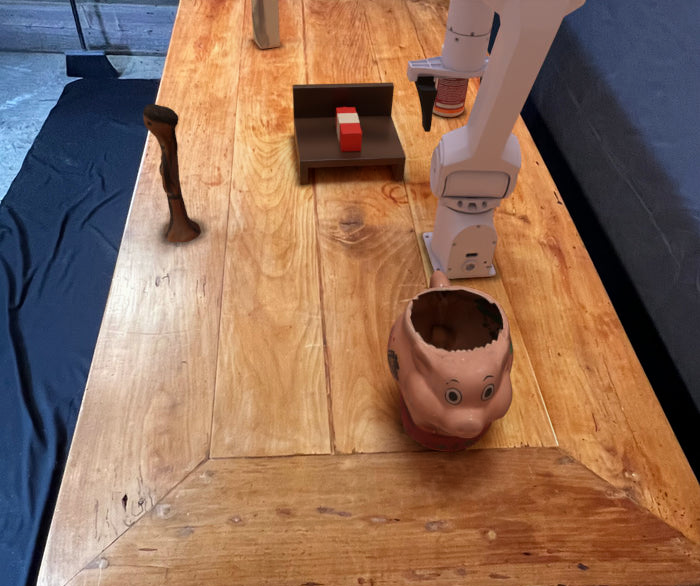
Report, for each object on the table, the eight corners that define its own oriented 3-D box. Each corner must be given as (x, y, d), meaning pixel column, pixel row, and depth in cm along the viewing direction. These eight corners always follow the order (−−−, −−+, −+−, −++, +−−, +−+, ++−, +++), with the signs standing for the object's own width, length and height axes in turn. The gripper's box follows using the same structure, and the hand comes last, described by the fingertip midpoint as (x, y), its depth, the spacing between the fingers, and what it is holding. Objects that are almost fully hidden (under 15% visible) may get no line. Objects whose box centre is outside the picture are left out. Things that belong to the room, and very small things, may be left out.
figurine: (166, 214, 89) (140, 90, 76) (202, 213, 89) (182, 90, 76) (162, 247, 84) (132, 120, 71) (200, 245, 84) (177, 119, 71)
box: (252, 40, 130) (247, -29, 121) (272, 37, 132) (269, -31, 122) (261, 50, 127) (256, -20, 118) (281, 47, 129) (278, -23, 119)
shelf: (403, 180, 97) (409, 126, 90) (300, 184, 95) (298, 129, 89) (388, 134, 106) (392, 82, 100) (294, 137, 105) (292, 84, 98)
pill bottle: (470, 113, 113) (482, 50, 104) (443, 121, 110) (453, 57, 102) (448, 99, 116) (458, 37, 108) (422, 106, 114) (430, 44, 105)
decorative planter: (365, 342, 74) (372, 248, 63) (464, 332, 75) (487, 239, 65) (403, 491, 60) (420, 404, 50) (522, 475, 62) (563, 387, 52)
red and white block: (361, 151, 95) (362, 132, 92) (341, 152, 94) (341, 133, 92) (353, 121, 101) (354, 102, 99) (334, 122, 100) (334, 103, 98)
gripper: (513, 15, 83) (492, 112, 93) (406, 16, 82) (397, 115, 92) (530, 36, 79) (506, 136, 89) (418, 38, 77) (406, 140, 87)
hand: (451, 127), depth 90 cm, fingers open, 7 cm apart
